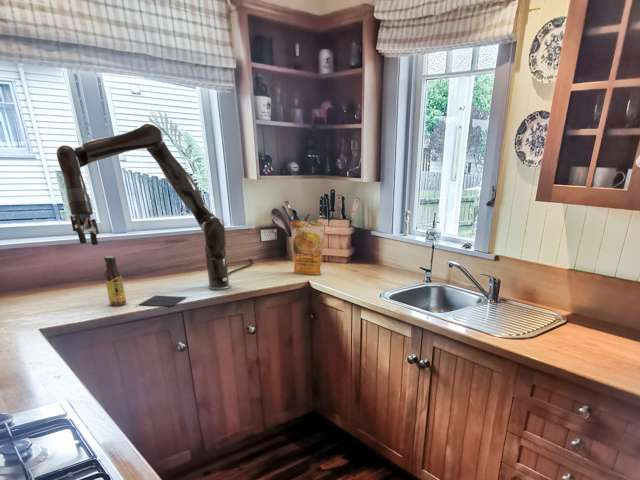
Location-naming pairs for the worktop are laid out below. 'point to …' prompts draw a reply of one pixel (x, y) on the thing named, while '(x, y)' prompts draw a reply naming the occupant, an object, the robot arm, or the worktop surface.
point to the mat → (162, 301)
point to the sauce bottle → (114, 282)
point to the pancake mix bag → (307, 246)
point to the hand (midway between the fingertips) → (89, 244)
